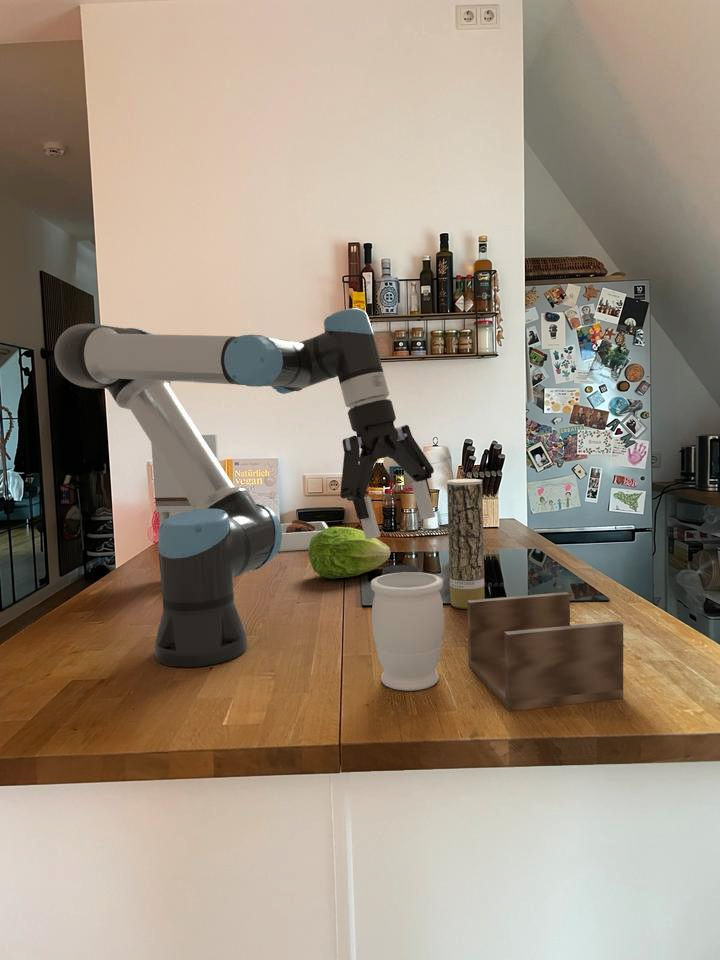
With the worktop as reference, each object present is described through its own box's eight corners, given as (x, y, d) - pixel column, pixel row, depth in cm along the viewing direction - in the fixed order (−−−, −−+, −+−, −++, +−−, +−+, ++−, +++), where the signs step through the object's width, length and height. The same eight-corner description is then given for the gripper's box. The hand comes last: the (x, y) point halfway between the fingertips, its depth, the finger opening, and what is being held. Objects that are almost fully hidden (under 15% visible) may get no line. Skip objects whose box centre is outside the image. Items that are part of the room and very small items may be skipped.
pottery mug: (277, 545, 209) (285, 520, 212) (304, 556, 212) (312, 531, 215) (289, 541, 199) (298, 514, 201) (318, 552, 202) (326, 526, 204)
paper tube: (484, 610, 133) (481, 482, 130) (449, 609, 134) (445, 482, 132) (485, 600, 139) (482, 478, 137) (451, 600, 141) (448, 479, 138)
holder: (509, 711, 89) (507, 634, 88) (468, 665, 105) (467, 600, 104) (623, 698, 91) (623, 623, 90) (566, 655, 107) (566, 592, 106)
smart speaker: (399, 593, 148) (398, 575, 147) (374, 586, 155) (373, 568, 155) (430, 586, 153) (429, 568, 153) (404, 579, 160) (404, 562, 160)
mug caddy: (276, 551, 197) (275, 534, 196) (273, 540, 215) (272, 524, 214) (331, 547, 199) (330, 530, 199) (324, 536, 217) (323, 521, 217)
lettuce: (411, 549, 165) (383, 514, 174) (336, 552, 152) (310, 514, 161) (391, 589, 171) (365, 552, 180) (316, 595, 158) (292, 556, 167)
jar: (402, 662, 108) (399, 568, 106) (459, 676, 101) (457, 576, 99) (359, 684, 99) (355, 583, 98) (418, 701, 93) (415, 593, 91)
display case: (161, 586, 161) (150, 437, 158) (183, 575, 172) (173, 435, 168) (205, 587, 159) (196, 436, 155) (225, 576, 169) (216, 434, 165)
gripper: (326, 406, 102) (363, 544, 102) (433, 389, 119) (464, 507, 119) (297, 418, 108) (332, 549, 108) (402, 400, 125) (433, 513, 125)
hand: (401, 527), depth 113 cm, fingers open, 13 cm apart
